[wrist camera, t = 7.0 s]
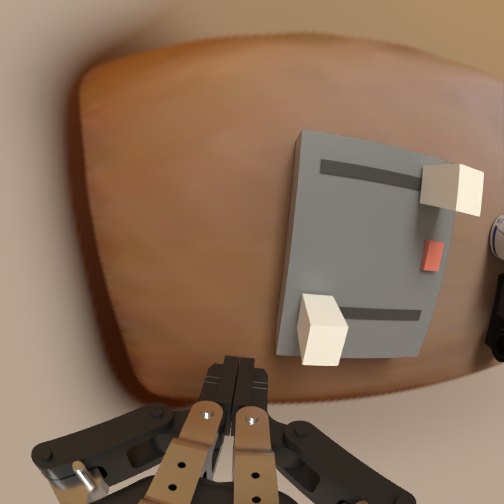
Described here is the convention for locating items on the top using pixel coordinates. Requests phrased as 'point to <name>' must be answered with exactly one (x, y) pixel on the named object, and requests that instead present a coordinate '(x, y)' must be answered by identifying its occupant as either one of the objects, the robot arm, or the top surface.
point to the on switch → (452, 188)
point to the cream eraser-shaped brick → (320, 330)
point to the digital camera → (497, 323)
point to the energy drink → (498, 237)
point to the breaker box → (363, 244)
